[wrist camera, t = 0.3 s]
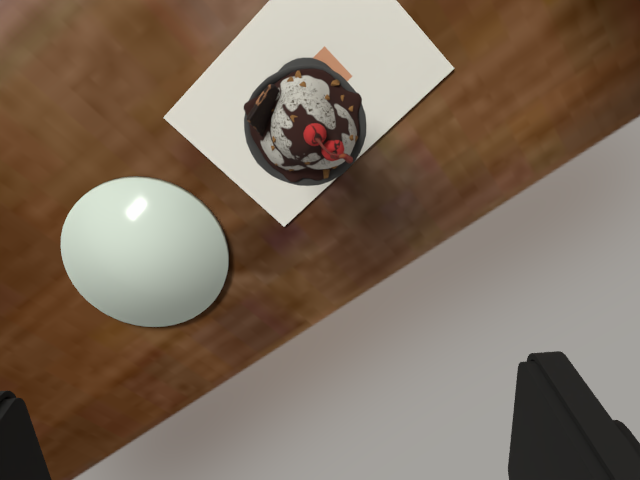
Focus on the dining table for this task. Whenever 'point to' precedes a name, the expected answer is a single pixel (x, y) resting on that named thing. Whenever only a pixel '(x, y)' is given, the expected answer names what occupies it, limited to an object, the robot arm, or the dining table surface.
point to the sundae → (305, 123)
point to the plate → (145, 251)
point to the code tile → (319, 43)
